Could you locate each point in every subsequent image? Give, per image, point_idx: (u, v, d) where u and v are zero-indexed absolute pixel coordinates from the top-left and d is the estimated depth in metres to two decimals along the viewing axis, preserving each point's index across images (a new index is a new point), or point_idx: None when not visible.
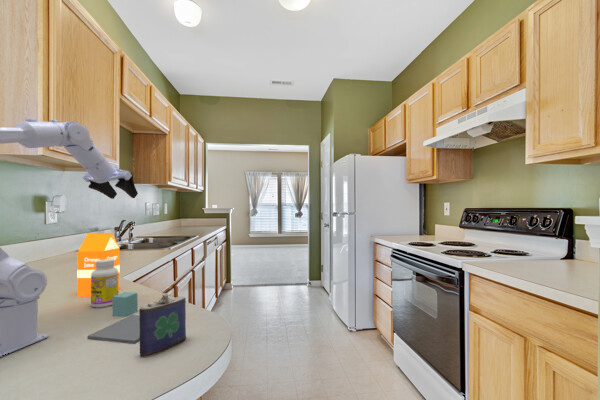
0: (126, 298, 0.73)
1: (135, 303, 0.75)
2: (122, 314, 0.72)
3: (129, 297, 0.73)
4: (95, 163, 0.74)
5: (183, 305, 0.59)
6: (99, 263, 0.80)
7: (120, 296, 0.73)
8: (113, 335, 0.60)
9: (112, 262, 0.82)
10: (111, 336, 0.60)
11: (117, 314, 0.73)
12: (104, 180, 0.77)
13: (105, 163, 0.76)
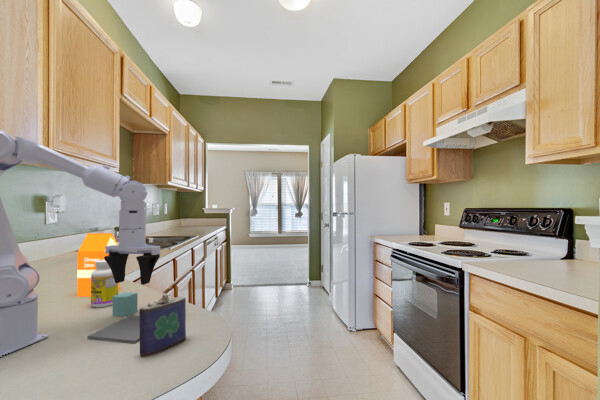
0: (126, 298, 0.73)
1: (135, 303, 0.75)
2: (122, 314, 0.72)
3: (129, 297, 0.73)
4: (125, 226, 0.67)
5: (183, 305, 0.59)
6: (99, 263, 0.80)
7: (120, 296, 0.73)
8: (113, 335, 0.60)
9: None
10: (111, 336, 0.60)
11: (117, 314, 0.73)
12: (129, 248, 0.67)
13: (143, 232, 0.70)
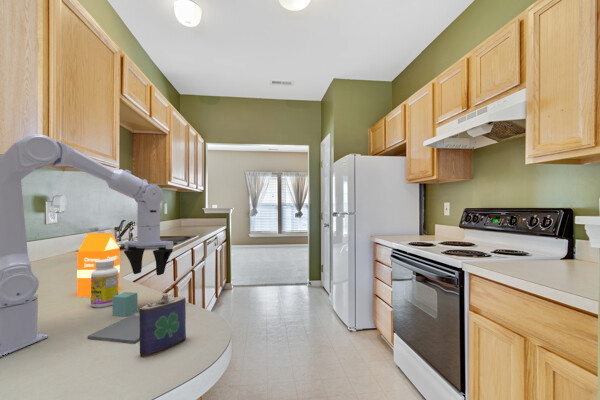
0: (126, 298, 0.73)
1: (135, 303, 0.75)
2: (122, 314, 0.72)
3: (129, 297, 0.73)
4: (146, 224, 0.77)
5: (183, 305, 0.59)
6: (99, 263, 0.80)
7: (120, 296, 0.73)
8: (113, 335, 0.60)
9: (112, 262, 0.82)
10: (111, 336, 0.60)
11: (117, 314, 0.73)
12: (146, 243, 0.76)
13: (158, 229, 0.79)
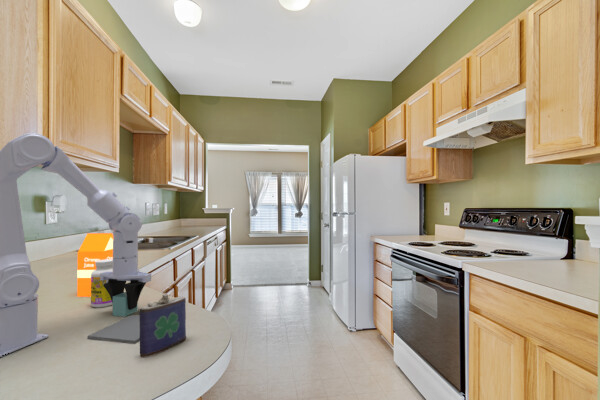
0: (126, 298, 0.73)
1: None
2: (122, 314, 0.72)
3: None
4: (122, 256, 0.72)
5: (183, 305, 0.59)
6: (99, 263, 0.80)
7: (120, 296, 0.73)
8: (113, 335, 0.60)
9: (112, 262, 0.82)
10: (111, 336, 0.60)
11: (117, 314, 0.73)
12: (122, 276, 0.72)
13: (135, 260, 0.75)
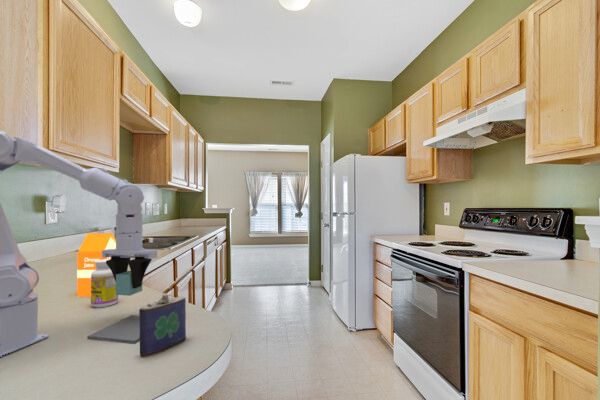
0: (131, 276, 0.68)
1: None
2: (126, 293, 0.67)
3: None
4: (122, 230, 0.67)
5: (183, 305, 0.59)
6: (99, 263, 0.80)
7: (124, 274, 0.68)
8: (113, 335, 0.60)
9: None
10: (111, 336, 0.60)
11: (121, 293, 0.68)
12: (126, 252, 0.67)
13: (139, 236, 0.70)
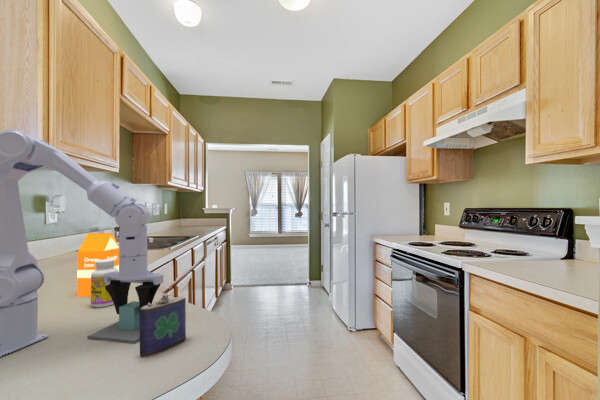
0: (135, 309, 0.63)
1: None
2: (130, 327, 0.62)
3: (138, 307, 0.64)
4: (122, 254, 0.62)
5: (183, 305, 0.59)
6: (99, 263, 0.80)
7: (128, 306, 0.63)
8: (113, 335, 0.60)
9: (112, 262, 0.82)
10: (111, 336, 0.60)
11: (124, 327, 0.63)
12: (130, 277, 0.62)
13: (144, 259, 0.65)
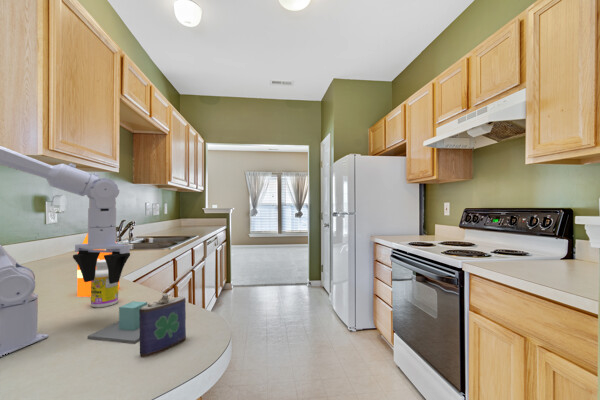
0: (135, 309, 0.63)
1: None
2: (130, 327, 0.62)
3: (138, 307, 0.64)
4: (95, 224, 0.66)
5: (183, 305, 0.59)
6: (99, 263, 0.80)
7: (128, 306, 0.63)
8: (113, 335, 0.60)
9: None
10: (111, 336, 0.60)
11: (124, 327, 0.63)
12: (97, 246, 0.66)
13: (112, 230, 0.69)
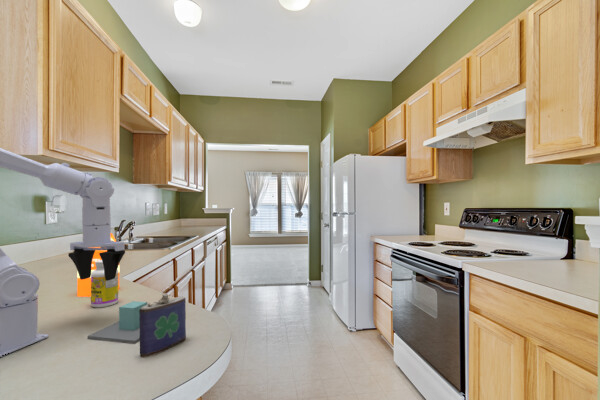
0: (135, 309, 0.63)
1: None
2: (130, 327, 0.62)
3: (138, 307, 0.64)
4: (92, 223, 0.67)
5: (183, 305, 0.59)
6: (99, 263, 0.80)
7: (128, 306, 0.63)
8: (113, 335, 0.60)
9: None
10: (111, 336, 0.60)
11: (124, 327, 0.63)
12: (92, 244, 0.67)
13: (107, 228, 0.70)
